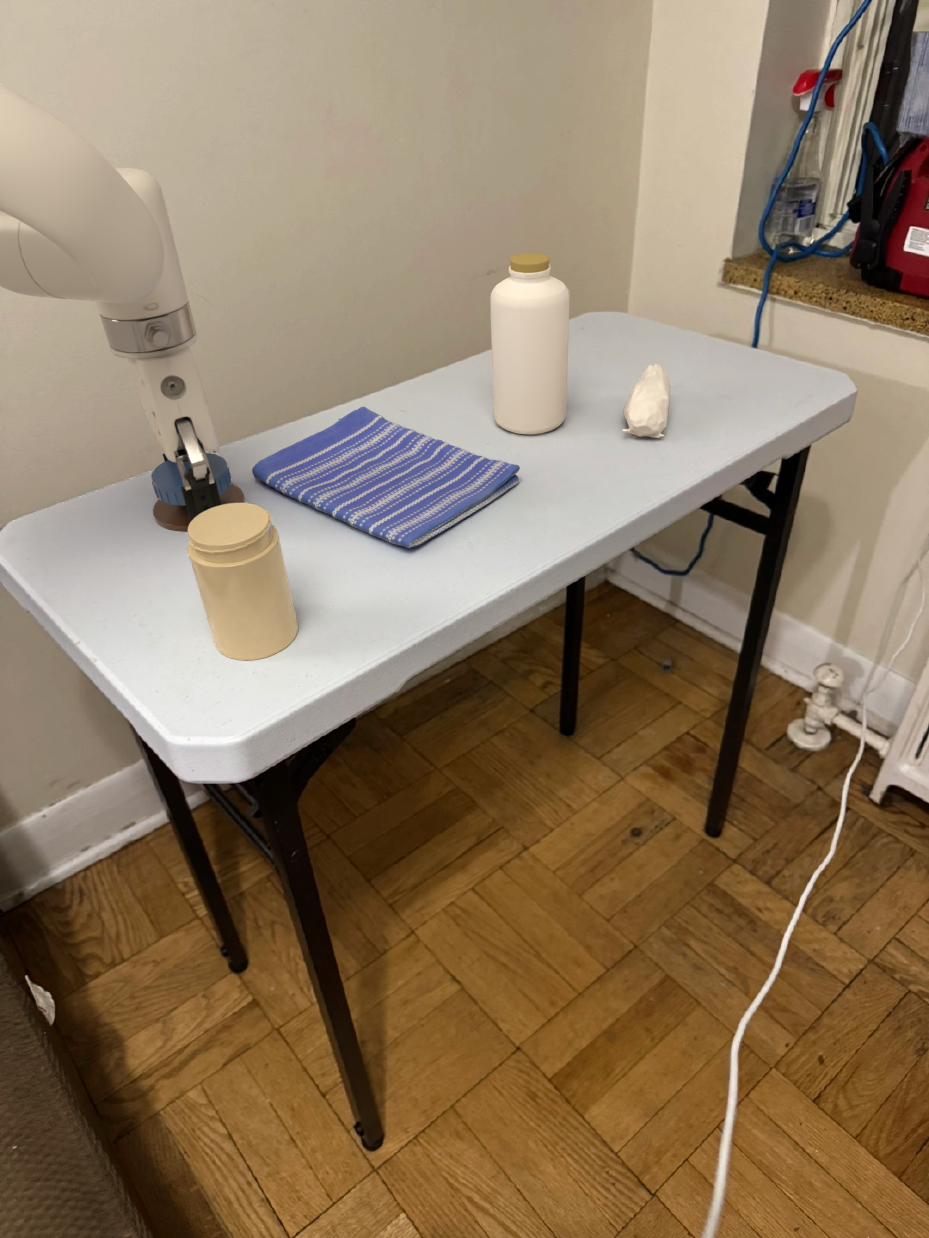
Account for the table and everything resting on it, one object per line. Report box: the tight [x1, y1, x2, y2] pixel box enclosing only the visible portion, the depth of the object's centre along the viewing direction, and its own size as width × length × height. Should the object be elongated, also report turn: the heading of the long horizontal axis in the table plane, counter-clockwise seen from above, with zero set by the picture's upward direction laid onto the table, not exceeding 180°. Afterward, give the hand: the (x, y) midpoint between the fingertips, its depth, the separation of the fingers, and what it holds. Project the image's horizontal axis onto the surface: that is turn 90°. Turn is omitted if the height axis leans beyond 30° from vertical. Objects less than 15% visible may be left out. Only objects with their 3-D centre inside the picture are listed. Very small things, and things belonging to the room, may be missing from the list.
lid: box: [151, 452, 232, 505], centre depth 85 cm, size 7×7×2 cm
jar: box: [187, 502, 299, 661], centre depth 68 cm, size 7×7×11 cm
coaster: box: [152, 483, 246, 532], centre depth 87 cm, size 9×9×1 cm
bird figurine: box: [621, 362, 671, 439], centre depth 96 cm, size 5×7×10 cm
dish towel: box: [251, 406, 521, 549], centre depth 89 cm, size 17×24×3 cm
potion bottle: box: [489, 252, 571, 435], centre depth 94 cm, size 8×8×18 cm
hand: (197, 501), depth 87 cm, fingers closed on lid, 7 cm apart
